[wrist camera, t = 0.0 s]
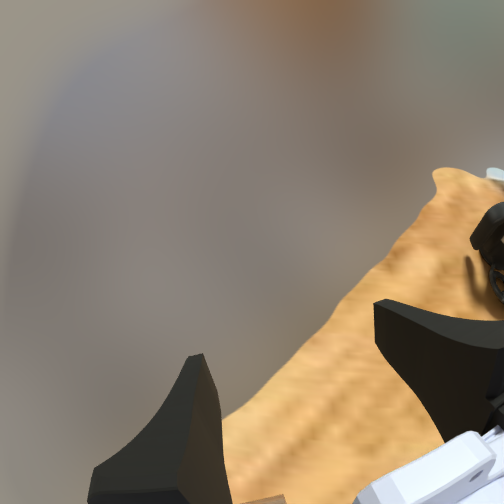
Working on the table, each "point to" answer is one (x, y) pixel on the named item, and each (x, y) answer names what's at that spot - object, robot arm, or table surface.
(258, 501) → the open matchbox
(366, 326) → the table surface
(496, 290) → the milk frother
